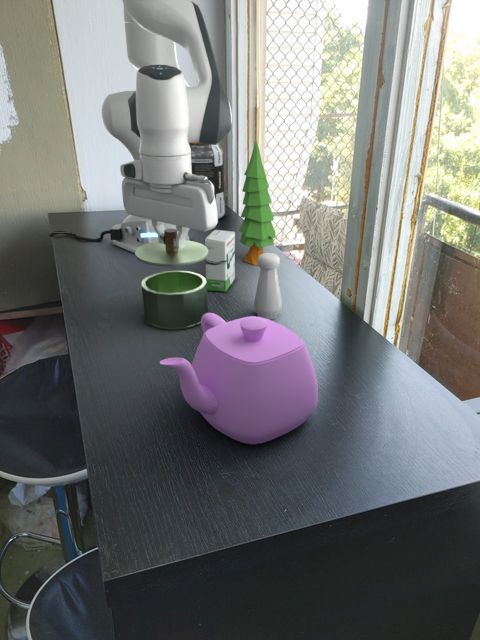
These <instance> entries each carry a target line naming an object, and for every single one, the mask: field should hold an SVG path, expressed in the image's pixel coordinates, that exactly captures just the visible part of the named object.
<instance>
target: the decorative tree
mask: <svg viewBox="0 0 480 640" xmlns="http://www.w3.org/2000/svg"><path fill="white" fill-rule="evenodd" d="M260 151H261V150H260V147H259V144H258V141H257V138H254V143H253V147H252V153H251V156H250V159H249V161H248V162H249V163H248V165H247V167H246V169H245V171H244V176H245V178H244V179H245V180H244V182H243V186H242V191H241V192H244V195H243V199H242V205H244V207H243V210H242V212H241V214H240V218H244V219H243V221H242V223H241V225H240V227H239V229H238V231H239V232H240V233H241V236H240V238H239V243H241V244H242V245H244V246H245V247H249V249H248V250H247V253H246V254H245V257H244V259H243V262H246V263H247V264H251V265H253V266H255V265H256V266H258V258H259V256H260V255H261V254H264V248H265V247H269V246H273V245H275V240H274V239H277V235H276V229H275V227H274V225H273V222H272V221H274V220H275V219H274V214H273V211H272V208H271V206H270V204H273V203H272V202H273V201H272V198H271V196H270V193H269V190H268V189H269V188H270V185H269V182H268V179H267V174H266V171H265V168H264V165H263V161H262V157H261V152H260Z"/></svg>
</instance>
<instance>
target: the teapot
mask: <svg viewBox="0 0 480 640" xmlns="http://www.w3.org/2000/svg"><path fill="white" fill-rule="evenodd" d="M200 326H201V332H202V334H203V335H202V337H201V339H200V341H199V344H198V346H197V348H196V351H195V353H194V358H193V360H192V363H190V361H188V360H187V359H186V358H183V357H180V356H179V357H177V356H175V357H167V358H164V359H161V360H160V361H159V364H160V365H161V366H165V367H168V368H171V369H173V370H174V371H175V372H176V373H177V376H178V379H179V385H180V390H181V393H182V396H183V398H184V400H185V402H186V403H187V404H188V405H189V406H190V407H191V408H192V409H193V410H195V411H197V412H199V414H201V415H202V417H203V418H204V419H205V420H206V421H207V423H208V424H209V425H211V427H213V428H214V429H215V430H217V432H220V433H222V434H223V435H225V436H227V437H228V438H230V439H231V440H232V439H233V440H235V441H237V442H239V443H242V444H246V445H260V444H263V443H267V442H269V441H271V440H272V441H273V440H274V439H275V440H276V439H277V438H280V437H281V436H283V435H286V434H287V433H289V432H291V431H293V430H295V429H297V428H298V427H300V426H301V425H302V424H304V423H305V422H306V421H307V420H308V419H309V418H310V417H311V416H312V414H313V413H314V412H315V411H316V408H317V406H318V403H319V387H318V386H319V385H318V379H317V378H318V377H317V374H316V370H315V367H314V364H313V361H312V358H311V356H310V353H309V351H308V349H307V347H306V344H305V341H304V340H303V339H302V338H301V337H300V336H299V335H298V334H296V332H294V331H293V330H291V329H290V328H289V327H287V326H284V325H283V324H281V323H278V322H276V321H274V320H272V319H270V320H269V319H266V318H262V317H258V316H255V315H250V316H243V317H240V318H236V319H233V320H230V321H226V320H224V319H223V318H222V317H221V316H220V315H218V314H216V313H213V312H208V313H206V314H204V315H203V316H202V318H201V324H200ZM258 443H259V444H258Z"/></svg>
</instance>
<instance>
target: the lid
mask: <svg viewBox="0 0 480 640" xmlns="http://www.w3.org/2000/svg"><path fill="white" fill-rule="evenodd" d="M164 235H165V244H161V243H159V242H158V241H155V242H151V243H148V244H145V245H142V246H140V247H139V248H138V249H137V250H136V251H135V253H134V254H135V255H134V256H135V258H136V260H138V262H141V263H143V264H144V265H149V266H154V267H163V268H165V267H167V268H172V267H175V268H176V267H184V266H189V265H193V264H197V263H199V262H202V261H205V258H206V257H207V256H208V249H207V247H206V246H205V244H203V243H200V242H197V241H192V240H190V241H187V240H185V247H183V248H181V249H180V248H176V247H174V246H173V238H176V237H177V230H176V229H166V230H164Z"/></svg>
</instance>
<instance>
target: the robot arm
mask: <svg viewBox="0 0 480 640" xmlns="http://www.w3.org/2000/svg"><path fill="white" fill-rule="evenodd" d="M122 4H123V21H124V31H125V43H126V54H127V60H128V61H129V63H130V65H131V66H132V67H133V68H134V69H136V70H137V72H136V79H135V80H136V81H135V90H123V91H118V92H114V93H110V94H107V96H106V97H105V99H104V100H103V102H102V105H101V109H100V116H101V120H102V125H103V126H104V128H105V130H106V131H107V133H109V135H110V136H112V138H114V139H115V140H117V141H118V142H119V143H120V144H122V146H124V147H125V149H126V150H127V151H128V153H129V155H130V156H131V158H132V161H129V162H125V163H122V164H121V165H120V167H119V170H120V175H121V176H122V177H123V178H122V182H121V193H122V204H123V209H124V210H125V212H126V213H127V214H128V216H127V217H126V218H124V219H123V221H122V222H121V223H115V224H114V225H113V226H111V227H109V229H108V230H104V231H102V232H100V235H99V237H98V238H90V237H86V236H85V237H84V236H81V235H79V236H77V235H76V234H77V233H75V234H72V233H73V232H70V233H53V232H51V233H50V234H49V235H48V237H49V238H52V237H54V236H56V235H66V236H71V237H74V238H77V239H78V240H81V241H85V242H91V243H93V242H95V243H96V242H101V241H103V240H104V236H105V235H107V234H109V236H110V241H112V244H113V245H114V246H116V247H119V248H121V249H124V250H125V251H129V252H131V253H133V254H135V251H136V250H137V249H138V248H139V247H140V246H142V245H145V244H148V243H151V242H155V241H158V242H159V243H161V244H165V235H164V230H166V229H176V230H177V237H176V238H173V246H174V247H176V248H180V249H181V248H183V247H185V240H187V241H191V239H190V235H189V231H190V229H191V230H195V231H198V232H203V233H204V232H208V231H211V230H213V229H215V228H216V227H217V224H218V223H219V219H218V216H217V207H216V200H215V195H214V185H213V184H212V183H211V182H210V181H209V180H208V178H207V177H205V176H198V175H195V174H192V167H191V149H190V146H189V143H199V144H210V145H216V144H219V143H221V142H222V141H223V140H224V139H225V138H226V137H227V136H228V135H229V134H230V132H231V129H232V123H233V114H232V108H231V104H230V101H229V97H228V95H227V91H226V89H225V87H224V85H223V82H222V79H221V75H220V70H219V67H218V64H217V60H216V57H215V53H214V49H213V45H212V42H211V38H210V34H209V31H208V28H207V25H206V21H205V18H204V16H203V13H202V11H201V9H200V7H199V5H198V4H196V3H195V2H194V1H192V0H122ZM176 44H177V45H179V46H180V47H182V48H183V49H184V50H185V51H186V52H187V53H188V55H189V57H190V60H191V64H192V67H193V71H194V75H195V78H196V82H197V85H189V84H188V83H187V81H186V79H185V75H184V73H183V71H182V70H181V69H180V66H179V62H178V56H177V49H176V48H177V47H176ZM206 182H208V183H206ZM54 232H67V231H65V230H55V231H54Z"/></svg>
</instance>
